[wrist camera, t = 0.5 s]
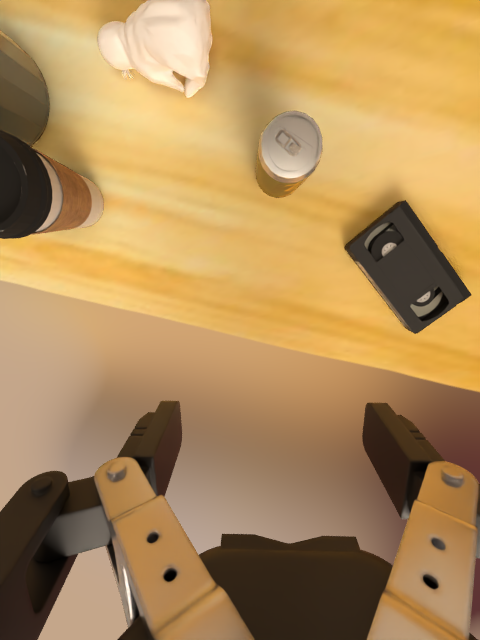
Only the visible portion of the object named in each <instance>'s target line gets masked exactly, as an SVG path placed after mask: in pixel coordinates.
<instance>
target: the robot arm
mask: <svg viewBox="0 0 480 640" xmlns="http://www.w3.org/2000/svg"><path fill="white" fill-rule="evenodd" d="M181 441H182V426H181V412H180V403H179V401H161V402H160V404H159V406H158V408H157V410H156V412H155V413H152V412H148V413H147V414H146V415H144V416H143V417H142V418H141V419H140V420H139V421H138V423H137V424H136V426H135V429H134V430H133V431H132V433H131V436H129V438H128V440H127V441H126V443H125V445H124V446H123V448H122V450H121V451H120V453H119V455H118V457H117V458H115V459H112V460H110V461H108V462H106V463H104V464H103V465H102V466H100V467H99V469H98V470H97V471H96V473H95V476H93V477H90V478H86V479H81V480H77V481H72V482H68V479H67V476H66V474H64V473H63V472H60V471H50V472H45V473H42V474H39V475H37V476H35V477H33V478H31V479H30V480H28V481H27V482H26V483H25V484H23V485H22V487H20V488H19V490H18V491H17V492H16V493H15V495H14V496H13V497H12V498H11V499H10V501H9V502H8V503H7V504H6V505H5V507H4V508H3V509H2V510H1V512H0V640H37V639H38V637H39V635H40V633H41V631H42V629H43V627H44V625H45V623H46V620H47V618H48V616H49V614H50V612H51V610H52V608H53V605H54V604H55V601H56V599H57V597H58V595H59V593H60V591H61V588H62V587H63V585H64V583H65V580H66V578H67V576H68V574H69V572H70V570H71V567H72V565H73V564H74V561H75V559H76V557H77V555H78V553H82V552H85V551H88V550H92V549H95V548H99V547H102V546H106V550H107V553H108V556H109V560H110V563H111V566H112V569H113V573H114V576H115V579H116V583H117V585H118V589H119V592H120V596H121V600H122V604H123V609H124V613H125V617H126V621H127V625H128V629H127V630H126V631H125V632H124V633H123V634H122V635H121V636H120V638H119V639H118V640H477V639H476V638H475V637H474V636H473V635H472V634H470V632H469V629H470V617H471V605H472V593H473V582H474V570H475V558H480V484H478V481H477V480H476V478H475V477H474V476H473V475H472V474H471V473H470V472H468V471H467V470H465V469H464V468H462V467H460V466H458V465H455V464H452V463H449V462H445V460H444V459H443V458H442V457H441V456H440V455H439V453H438V452H437V451H436V450H435V449H434V447H433V446H432V445H431V444H430V443H429V442H428V441H427V440H426V439H425V437H424V436H423V434H422V433H420V432H419V430H418V429H417V427H416V426H415V425H414V424H413V423H412V422H411V421H409V420H408V419H406V418H405V417H403V416H402V415H396V414H395V412H394V411H393V410H392V409H391V407H390V406H389V405H388V404H387V403H367V405H366V408H365V417H364V426H363V445H364V448H365V451H366V453H367V455H368V457H369V458H370V460H371V462H372V464H373V466H374V468H375V470H376V472H377V474H378V475H379V477H380V479H381V481H382V483H383V485H384V487H385V489H386V491H387V493H388V495H389V497H390V498H391V500H392V502H393V504H394V506H395V508H396V510H397V512H398V514H399V516H400V517H401V519H408V522H407V525H406V528H405V531H404V534H403V537H402V540H401V543H400V546H399V549H398V552H397V555H396V558H395V561H394V564H393V565H391V564H390V563H388V562H387V561H385V560H384V559H382V558H380V557H378V556H376V555H374V554H371V553H369V552H366V551H363V550H360V548H359V545H358V542H357V539H356V537H343V536H342V537H340V536H321V537H317V538H312V539H308V540H304V541H300V542H296V543H291V544H288V543H283V542H280V541H276V540H272V539H269V538H265V537H261V536H258V535H251V534H248V535H247V534H222V538H221V546H219V547H215V548H212V549H209V550H207V551H205V552H203V553H201V554H199V555H198V554H197V552H196V550H195V548H194V547H193V545H192V543H191V542H190V540H189V538H188V537H187V535H186V533H185V531H184V530H183V528H182V526H181V524H180V523H179V521H178V519H177V518H176V516H175V514H174V512H173V511H172V509H171V507H170V506H169V504H168V502H167V501H166V499H165V497H164V496H165V493H166V490H167V487H168V484H169V481H170V478H171V475H172V472H173V469H174V466H175V462H176V459H177V456H178V453H179V450H180V447H181Z"/></svg>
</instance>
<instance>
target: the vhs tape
mask: <svg viewBox="0 0 480 640" xmlns="http://www.w3.org/2000/svg"><path fill="white" fill-rule="evenodd" d="M345 250H346V251H347V252H348V253H349V255H350V256H351V257H352V259H353V260H354V261H355V263H356V264H357V265H358V266H359V268H360V269H361V270H362V272H363V273H364V274H365V276H366V277H367V278H368V280H369V281H370V282H371V283H372V285H373V286H374V287H375V289H376V290H377V291H378V293H379V294H380V295H381V296H382V298H383V299H384V300H385V302H386V303H387V304H388V306H389V307H390V308H391V310H392V311H393V312H394V313H395V315H396V316H397V317H398V319H399V320H400V321H401V323H402V324H403V325H404V326H405V328H406V329H408V330H409V331H411V332H413V333H418V332H420V331H421V330H423V329H424V328H425V327H427V326H428V325H430V324H431V323H432V322H434V321H435V320H437V319H438V318H440V317H441V316H442V315H444V314H445V313H447V312H448V311H449V310H451V309H452V308H454V307H455V306H456V304H459V303H461V302H462V301H464V300H465V299H467V298H468V297H469V296H471V293H470V292H469V290H468V289H467V288H466V286H465V285H464V283H463V282H462V280H461V279H460V278H459V276H458V275H457V273H456V272H455V270H454V269H453V267H452V266H451V265H450V263H449V262H448V260H447V259H446V257H445V256H444V255H443V253H442V252H441V251H440V250H439V249H438V246H437V245H436V243H435V242H434V240H433V239H432V237H431V236H430V235H429V233H428V232H427V230H426V229H425V227H424V226H423V224H422V223H421V222H420V220H419V219H418V217H417V216H416V214H415V213H414V212H413V210H412V209H411V207H410V206H409V204H408V203H407V202H406V201H401V202H397V203H396V204H395V205H394V206H393V207H391V208H390V209H389V210H388V211H387V212H385V213H384V214H383V215H382V216H380V217H379V218H378V219H377V220H376V221H374V222H373V223H372V224H371V225H370V226H368V227H367V228H366V229H365V230H363V231H362V232H361V233H360V234H359V235H357V236H356V237H355V238H354V239H352V240H351V241H350V242H349V243H348V244H346V246H345Z"/></svg>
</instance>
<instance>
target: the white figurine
mask: <svg viewBox="0 0 480 640" xmlns="http://www.w3.org/2000/svg"><path fill="white" fill-rule="evenodd" d="M97 40H98V47H99V50H100V52H101V54H102V56H103V58H104V59H105V60H106V61H107V63H108V64H110V65H111V66H112V67H114V68H116V69H120V70H122V71H121V72H122V75H123V76H124V75H125V76H124V79H125V77H126V73H127V75H128V76H129V75H130V76H131V74H130V73H129V71H130V70H129V71H128V69H135V70H136V71H137V72H139V73H140V74H141V75H143V76H144V77H146V78H147V79H148V80H150V81H152V82H154V83H157V84H162V85H165V86H168V87H171V88H174V89H177V90H179V91H181V92H183V91H184V93H185V96H186V97H187V98H189V97H192V96H193V95H194V94H195V93H196V92H197V91H198V90H199V89H200V88H202V87H203V86H204V84H205V83H206V79H207V75H208V71H209V68H210V65H209V61H208V59H209V56H208V54H209V51H210V49H211V46H212V33H211V17H210V5H209V3H208V2H207V1H206V0H148V1H146V2H145V3H144V4H141V5H140V6H139V7H138V9H137V10H136V11H134V12H133V13H132V14H131V15H130V16H129V17H128V18H127V21H126V22H125V23H123V22H119V21H112V22H109V23H106V24H105V25H103V26H102V27H101V29H100V30H99V32H98V38H97ZM173 71H175V72H176V73H178V74H180V75H182V76H185V77H186V80H185V86H183V85H182V83H181V82H180V81H179V80H178V79H177V78H176V77H175V76H174V75H173V73H172V72H173ZM133 74H134V73H133ZM134 75H135V74H134ZM130 76H129V78H130ZM131 77H132V76H131ZM132 78H133V77H132ZM126 79H127V78H126ZM130 79H131V78H130Z"/></svg>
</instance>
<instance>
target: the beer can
mask: <svg viewBox="0 0 480 640" xmlns="http://www.w3.org/2000/svg"><path fill="white" fill-rule="evenodd" d="M321 154H322V135H321V132H320V129H319V126H318V125H317V124H316V122H315V121H314V120H313V118H311V117H310V116H308V115H307V114H305V113H302V112H298V111H288V112H284V113H282V114H280V115H278V116H276V117H275V118H274V119H272V120H271V121H270V122H269V123H268V124H267V125H266V127H265V129H264V130H263V132H262V134H261V136H260V141H259V145H258V154H257V165H256V179H257V182H258V184H259V187H260V188H261V189H262V190H263V192H264V193H266V194H267V195H269V196H272V197H276V198H279V197H285V196H287V195H290V194H291V193H292V192H294V191H295V190H296V189H297V188H298V187H299V186H300V185H301V184H302V183H303V182H304V181H305V180H306V179H307V178H308V177H309V175H310V174H311V173H312V172H313V171H314V170H315V168H316V167H317V165H318V163H319V162H320V158H321Z"/></svg>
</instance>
